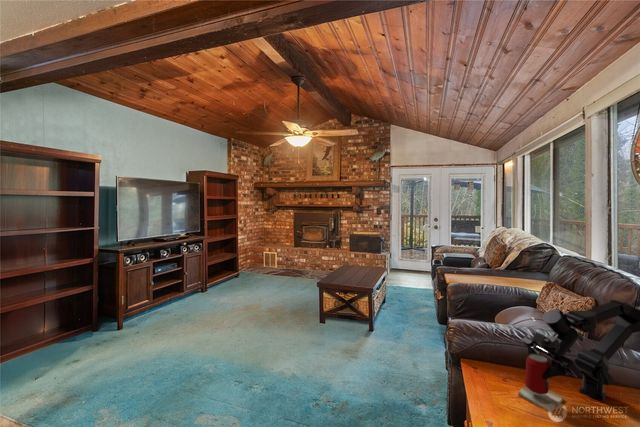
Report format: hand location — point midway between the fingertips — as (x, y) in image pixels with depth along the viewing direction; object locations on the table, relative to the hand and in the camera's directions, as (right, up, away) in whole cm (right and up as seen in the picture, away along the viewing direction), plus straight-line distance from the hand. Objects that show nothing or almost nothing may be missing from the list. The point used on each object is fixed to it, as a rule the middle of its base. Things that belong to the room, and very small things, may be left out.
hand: (534, 372), depth 104 cm
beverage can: (+1, -7, 0) cm, 7 cm away
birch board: (+3, -10, +1) cm, 10 cm away
